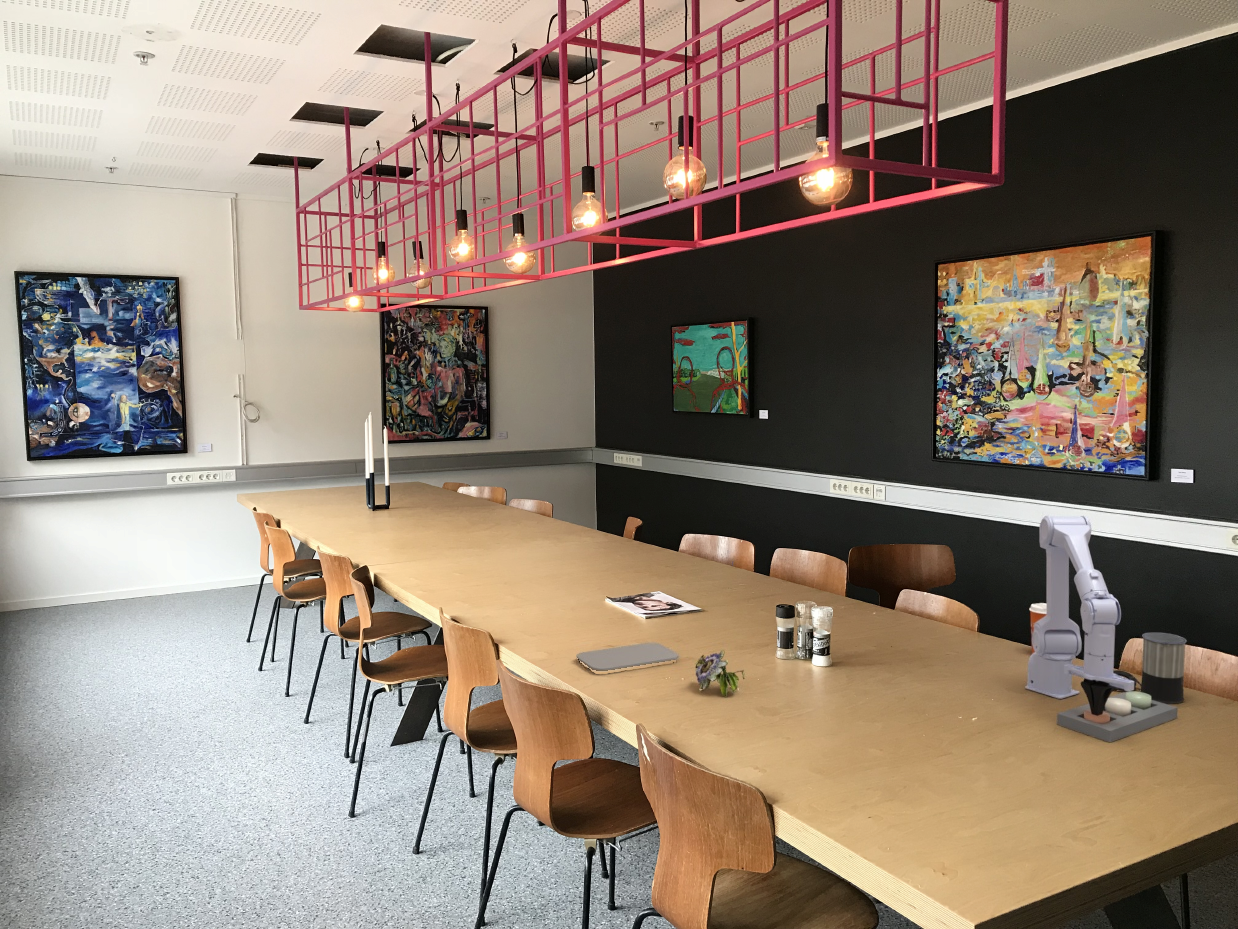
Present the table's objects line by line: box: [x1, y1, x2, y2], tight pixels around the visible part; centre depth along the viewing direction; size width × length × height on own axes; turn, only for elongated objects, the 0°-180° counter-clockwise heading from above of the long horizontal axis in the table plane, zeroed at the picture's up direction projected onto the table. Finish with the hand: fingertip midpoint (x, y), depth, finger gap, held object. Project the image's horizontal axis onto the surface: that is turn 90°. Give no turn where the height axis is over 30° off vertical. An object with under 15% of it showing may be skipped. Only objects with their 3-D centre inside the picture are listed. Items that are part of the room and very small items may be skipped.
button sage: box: [1125, 690, 1151, 710], centre depth 204 cm, size 5×5×3 cm
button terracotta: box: [1084, 710, 1110, 724], centre depth 196 cm, size 5×5×3 cm
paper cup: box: [1029, 602, 1058, 655], centre depth 249 cm, size 8×8×14 cm
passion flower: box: [695, 649, 746, 697], centre depth 224 cm, size 11×11×12 cm
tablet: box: [576, 642, 680, 671], centre depth 248 cm, size 16×26×2 cm, turn 115°
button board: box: [1056, 691, 1179, 743], centre depth 200 cm, size 12×26×2 cm, turn 121°
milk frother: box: [1113, 631, 1187, 705], centre depth 217 cm, size 14×16×15 cm
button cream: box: [1105, 698, 1131, 717], centre depth 200 cm, size 5×5×3 cm
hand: (1097, 714), depth 196 cm, fingers closed, pressing on button terracotta
